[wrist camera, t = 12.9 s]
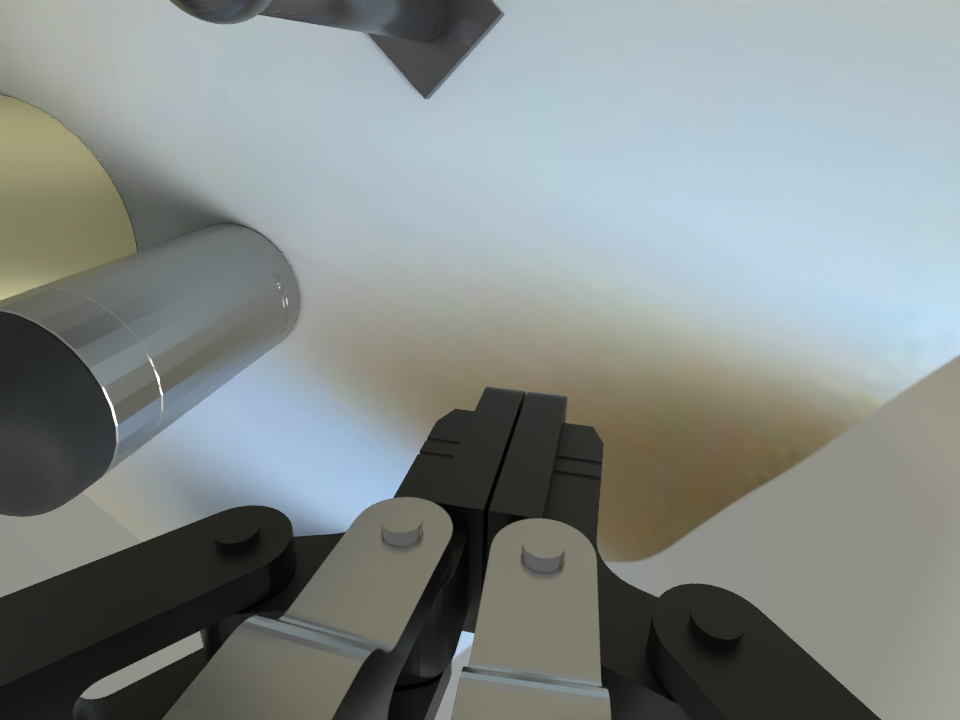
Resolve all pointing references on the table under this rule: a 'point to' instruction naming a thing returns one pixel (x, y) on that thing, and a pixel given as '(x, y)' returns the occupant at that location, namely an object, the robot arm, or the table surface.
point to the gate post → (380, 27)
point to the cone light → (53, 203)
